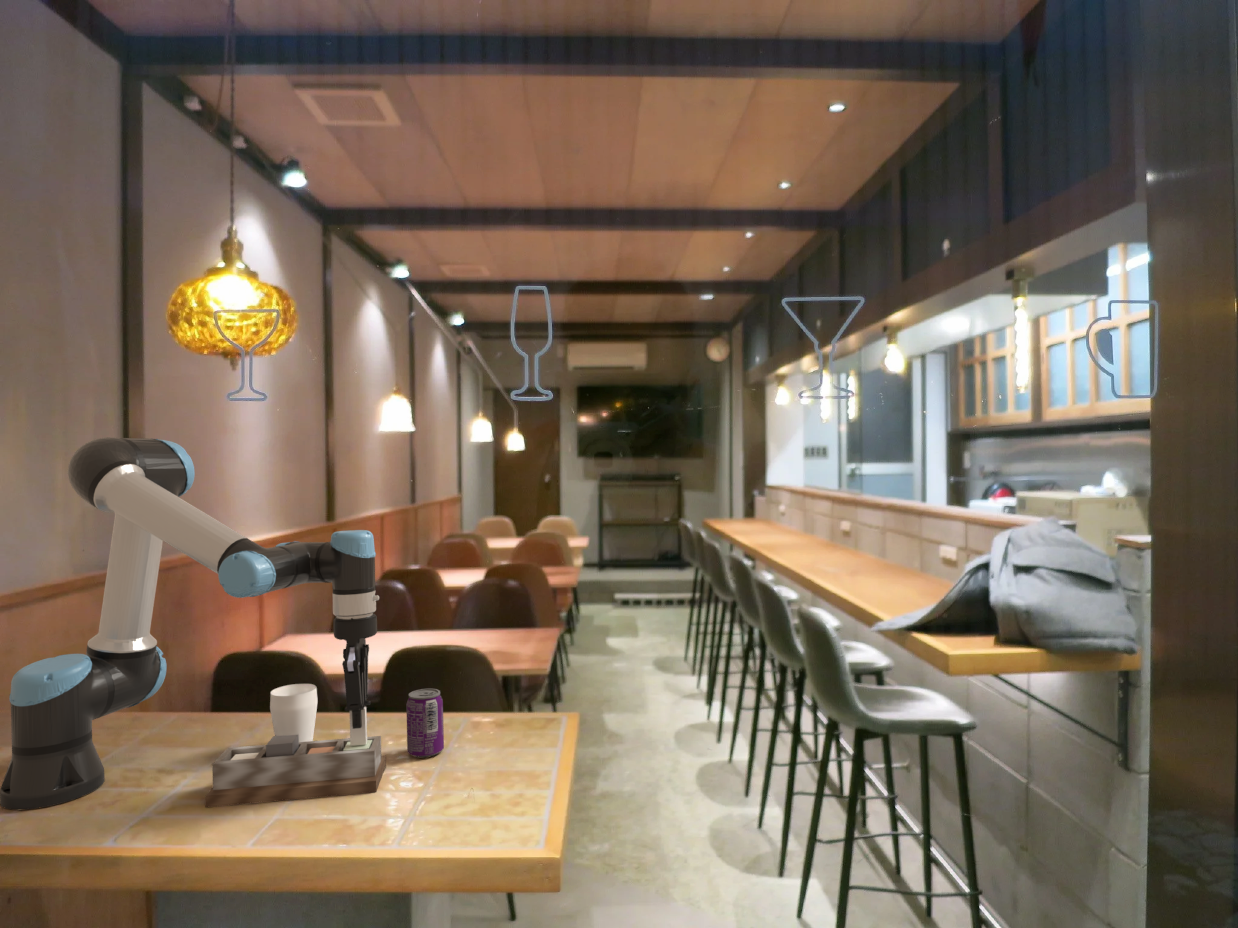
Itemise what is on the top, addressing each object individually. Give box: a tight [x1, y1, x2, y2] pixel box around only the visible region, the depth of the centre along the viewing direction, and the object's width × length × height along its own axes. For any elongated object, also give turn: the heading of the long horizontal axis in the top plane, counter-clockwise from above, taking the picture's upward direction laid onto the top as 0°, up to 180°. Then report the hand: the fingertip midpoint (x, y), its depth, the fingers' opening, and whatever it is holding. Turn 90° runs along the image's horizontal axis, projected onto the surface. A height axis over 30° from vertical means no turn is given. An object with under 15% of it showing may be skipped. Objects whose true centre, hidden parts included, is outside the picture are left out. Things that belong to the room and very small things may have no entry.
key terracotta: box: [308, 746, 335, 754], centre depth 137 cm, size 4×4×3 cm
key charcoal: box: [265, 734, 299, 757], centre depth 136 cm, size 4×4×3 cm
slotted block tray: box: [204, 735, 387, 808], centre depth 136 cm, size 28×12×6 cm, turn 99°
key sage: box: [343, 740, 372, 751], centre depth 138 cm, size 4×4×3 cm
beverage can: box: [405, 688, 445, 759], centre depth 151 cm, size 7×7×12 cm
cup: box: [269, 683, 319, 742], centre depth 155 cm, size 9×9×12 cm
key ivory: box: [231, 753, 259, 760], centre depth 135 cm, size 4×4×3 cm
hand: (358, 743), depth 138 cm, fingers closed
